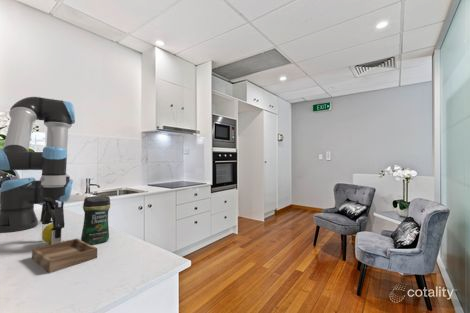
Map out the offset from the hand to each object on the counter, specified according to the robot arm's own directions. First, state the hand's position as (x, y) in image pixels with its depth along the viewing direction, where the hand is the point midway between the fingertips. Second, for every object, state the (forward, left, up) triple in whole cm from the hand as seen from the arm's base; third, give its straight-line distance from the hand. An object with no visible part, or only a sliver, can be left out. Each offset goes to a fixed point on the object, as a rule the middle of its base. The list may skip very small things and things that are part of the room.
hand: (51, 243), depth 87 cm
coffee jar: (+11, +11, 0) cm, 16 cm away
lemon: (0, 0, 0) cm, 1 cm away
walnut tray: (+19, -2, 0) cm, 19 cm away
